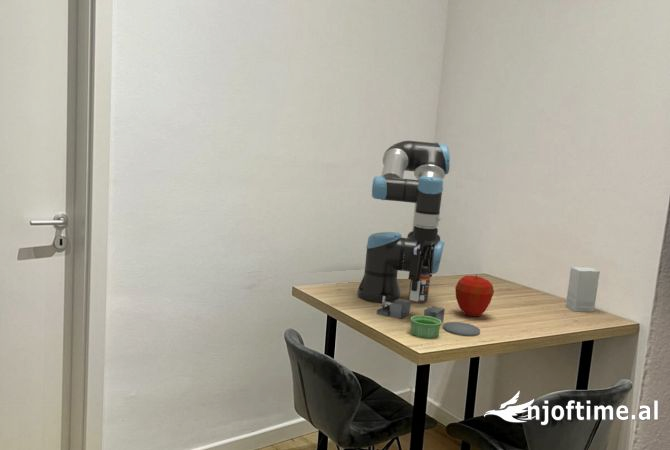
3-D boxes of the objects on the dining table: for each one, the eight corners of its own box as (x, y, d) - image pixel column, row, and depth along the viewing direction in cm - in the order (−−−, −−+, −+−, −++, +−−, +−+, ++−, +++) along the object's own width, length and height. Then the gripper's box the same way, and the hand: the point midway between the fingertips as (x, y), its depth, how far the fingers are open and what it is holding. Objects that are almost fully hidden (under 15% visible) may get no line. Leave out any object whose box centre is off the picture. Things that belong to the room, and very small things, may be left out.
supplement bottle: (426, 304, 184) (430, 269, 182) (407, 302, 185) (411, 267, 183) (427, 299, 190) (431, 265, 188) (409, 297, 191) (412, 263, 189)
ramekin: (442, 333, 176) (444, 319, 175) (435, 341, 168) (437, 326, 167) (413, 327, 179) (415, 313, 179) (405, 335, 171) (406, 320, 170)
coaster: (437, 330, 178) (438, 327, 178) (450, 322, 188) (450, 319, 187) (473, 338, 173) (473, 336, 172) (484, 330, 182) (484, 327, 182)
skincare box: (584, 307, 222) (590, 267, 220) (595, 312, 215) (601, 271, 213) (564, 306, 220) (570, 265, 218) (574, 311, 214) (580, 269, 212)
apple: (446, 313, 197) (450, 272, 195) (464, 307, 206) (468, 268, 204) (479, 323, 189) (484, 280, 187) (496, 316, 198) (501, 275, 196)
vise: (375, 313, 190) (376, 298, 189) (387, 308, 198) (389, 293, 197) (433, 328, 180) (435, 312, 179) (444, 321, 188) (446, 306, 187)
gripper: (425, 231, 174) (417, 307, 177) (448, 225, 190) (440, 295, 193) (402, 227, 177) (394, 301, 181) (426, 222, 193) (419, 290, 197)
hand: (418, 298), depth 187 cm, fingers closed on supplement bottle, 6 cm apart
